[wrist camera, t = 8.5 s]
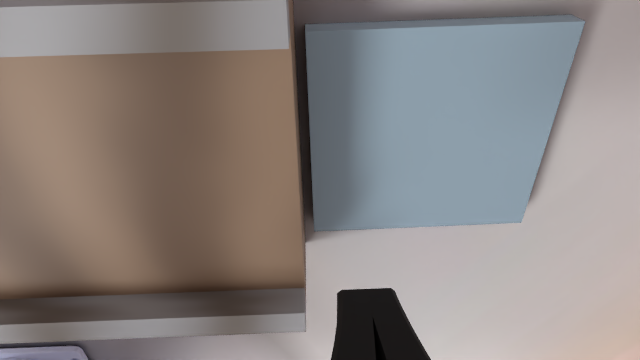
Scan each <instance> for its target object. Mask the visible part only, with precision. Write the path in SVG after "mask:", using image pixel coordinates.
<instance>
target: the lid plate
mask: <svg viewBox="0 0 640 360" xmlns="http://www.w3.org/2000/svg"><path fill="white" fill-rule="evenodd" d="M584 24H585V21H584V20H582V19H580V18H577V17H575V16H573V15H545V16H518V17H490V18H463V19H436V20H408V21H381V22H353V23H326V24H305V38H306V60H307V82H308V104H309V126H310V148H311V169H312V191H313V213H314V231H338V230H361V229H384V228H407V227H431V226H454V225H477V224H501V223H521V222H522V219H523V216H524V213H525V209H526V206H527V203H528V200H529V197H530V194H531V191H532V187H533V184H534V181H535V178H536V175H537V172H538V169H539V165H540V162H541V159H542V156H543V153H544V150H545V147H546V143H547V140H548V137H549V134H550V131H551V128H552V125H553V121H554V118H555V115H556V112H557V109H558V106H559V103H560V99H561V96H562V93H563V90H564V87H565V84H566V81H567V77H568V74H569V71H570V68H571V65H572V62H573V59H574V55H575V52H576V49H577V46H578V43H579V40H580V37H581V33H582V30H583V27H584Z"/></svg>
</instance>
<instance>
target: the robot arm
mask: <svg viewBox="0 0 640 360" xmlns="http://www.w3.org/2000/svg"><path fill="white" fill-rule="evenodd" d="M0 360H88V358H87V357H86V355H85V353H84V351H83V350H82V349H81V348H80V347H77V346H55V347H30V348H5V349H0ZM331 360H431V359H430V357H429V356H428V354H427V352H426V351H425V349H424V347H423V346H422V344H421V342H420V340H419V339H418V337H417V335H416V333H415V331H414V330H413V328H412V326H411V324H410V322H409V320H408V318H407V316H406V314H405V312H404V310H403V308H402V306H401V304H400V302H399V300H398V298H397V295H396V293H395V291H394V290H393V289H391V288H382V289H355V290H341V291H340V292H338V293H337V327H336V335H335V342H334V347H333V352H332V357H331Z"/></svg>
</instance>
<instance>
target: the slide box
mask: <svg viewBox="0 0 640 360" xmlns="http://www.w3.org/2000/svg"><path fill="white" fill-rule="evenodd" d="M286 332H306V252H305V225H304V206H303V187H302V167H301V148H300V129H299V109H298V90H297V70H296V51H295V32H294V12H293V0H0V344H7V343H32V342H58V341H83V340H109V339H134V338H159V337H185V336H210V335H235V334H261V333H286Z"/></svg>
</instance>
